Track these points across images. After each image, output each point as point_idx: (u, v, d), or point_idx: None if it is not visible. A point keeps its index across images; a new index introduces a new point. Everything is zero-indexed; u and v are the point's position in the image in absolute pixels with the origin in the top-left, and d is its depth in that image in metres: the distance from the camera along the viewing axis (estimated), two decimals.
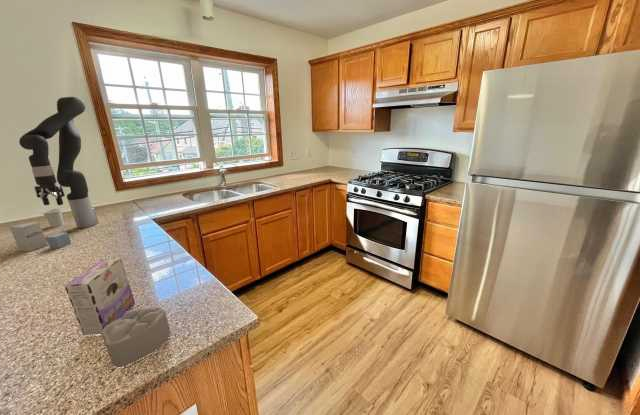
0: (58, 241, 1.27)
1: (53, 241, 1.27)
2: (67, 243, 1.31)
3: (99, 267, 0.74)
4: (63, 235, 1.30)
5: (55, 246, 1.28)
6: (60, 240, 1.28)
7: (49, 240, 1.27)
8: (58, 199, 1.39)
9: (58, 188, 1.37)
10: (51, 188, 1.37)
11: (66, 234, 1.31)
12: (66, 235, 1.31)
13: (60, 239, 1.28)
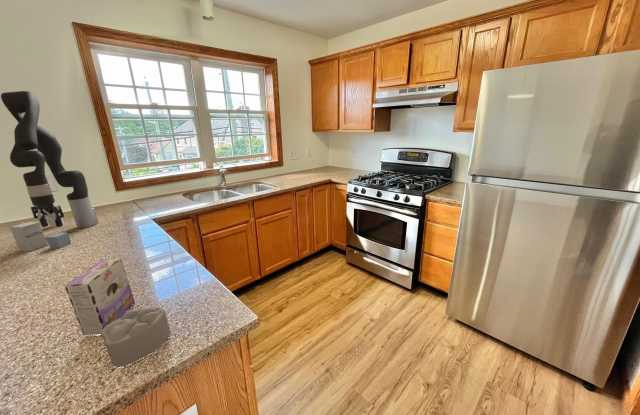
0: (58, 241, 1.27)
1: (53, 241, 1.27)
2: (67, 243, 1.31)
3: (99, 267, 0.74)
4: (63, 235, 1.30)
5: (55, 246, 1.28)
6: (60, 240, 1.28)
7: (49, 240, 1.27)
8: (57, 221, 1.25)
9: (57, 209, 1.23)
10: (49, 209, 1.23)
11: (66, 234, 1.31)
12: (66, 235, 1.31)
13: (60, 239, 1.28)
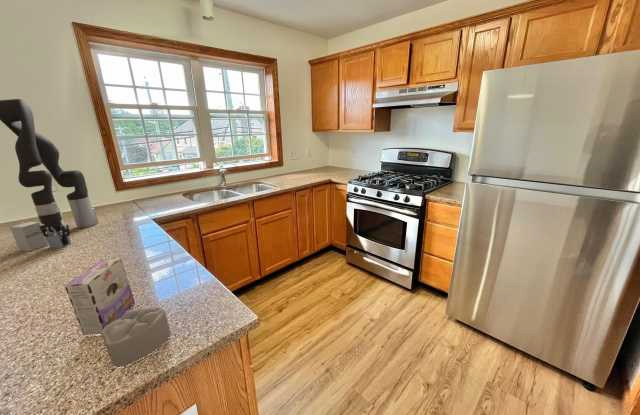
0: (58, 241, 1.27)
1: (53, 241, 1.27)
2: None
3: (99, 267, 0.74)
4: None
5: (55, 246, 1.28)
6: (60, 240, 1.28)
7: (49, 240, 1.27)
8: (63, 239, 1.29)
9: (64, 228, 1.27)
10: (57, 226, 1.26)
11: None
12: None
13: (60, 238, 1.28)
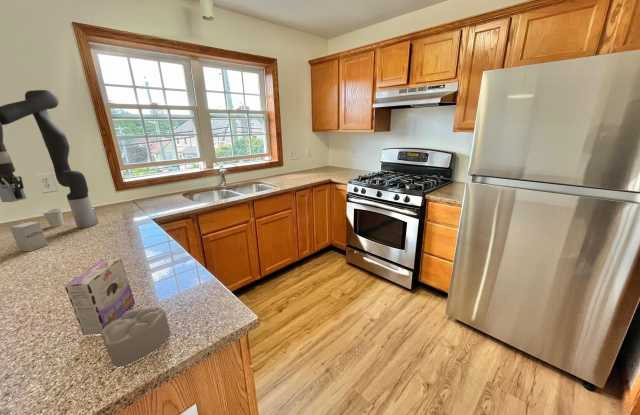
0: (10, 194, 1.19)
1: (4, 194, 1.19)
2: None
3: (99, 267, 0.74)
4: None
5: (7, 199, 1.19)
6: (13, 193, 1.20)
7: (0, 193, 1.19)
8: (16, 192, 1.20)
9: (17, 180, 1.18)
10: (8, 178, 1.18)
11: None
12: None
13: (12, 191, 1.20)
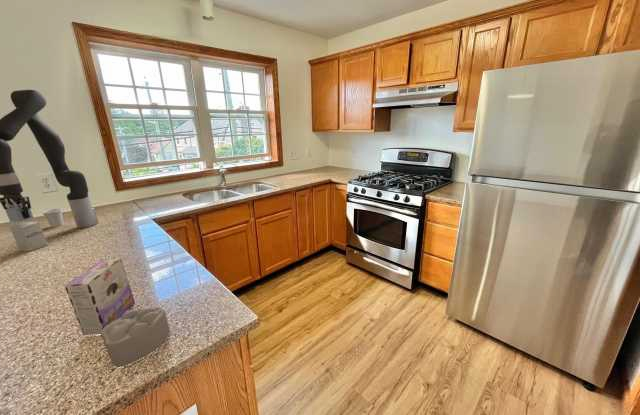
0: (18, 214, 1.22)
1: (12, 214, 1.21)
2: None
3: (99, 267, 0.74)
4: None
5: (15, 219, 1.22)
6: (20, 213, 1.23)
7: (8, 213, 1.22)
8: (24, 212, 1.23)
9: (24, 200, 1.21)
10: (16, 198, 1.21)
11: None
12: None
13: (20, 211, 1.22)
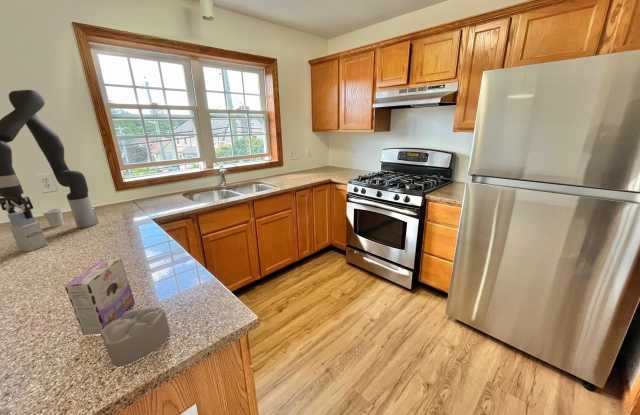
0: (20, 219, 1.22)
1: (14, 218, 1.22)
2: (30, 221, 1.26)
3: (99, 267, 0.74)
4: None
5: (17, 224, 1.23)
6: (23, 217, 1.23)
7: (10, 218, 1.22)
8: (26, 212, 1.23)
9: (25, 200, 1.21)
10: (17, 200, 1.21)
11: None
12: None
13: (22, 216, 1.23)
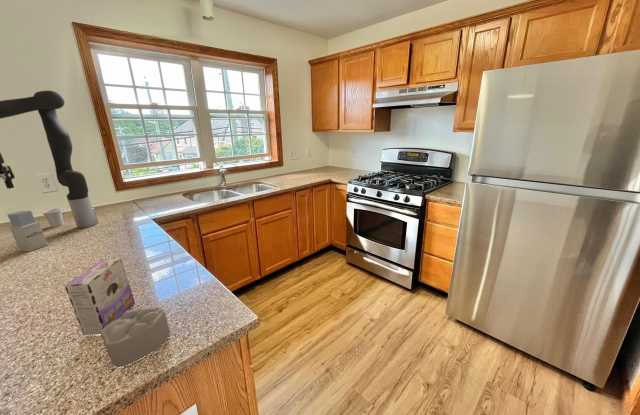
0: (20, 219, 1.22)
1: (14, 219, 1.22)
2: (30, 221, 1.26)
3: (99, 267, 0.74)
4: (26, 213, 1.25)
5: (17, 224, 1.23)
6: (22, 218, 1.23)
7: (10, 218, 1.22)
8: (7, 182, 1.21)
9: (6, 169, 1.19)
10: None
11: (29, 212, 1.26)
12: (29, 213, 1.26)
13: (22, 216, 1.23)
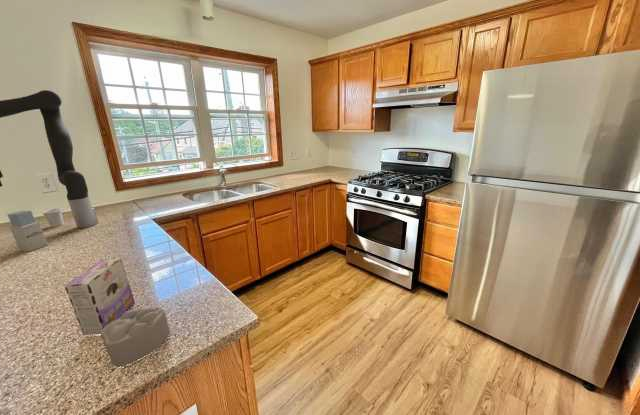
0: (20, 219, 1.22)
1: (14, 219, 1.22)
2: (30, 221, 1.26)
3: (99, 267, 0.74)
4: (26, 213, 1.25)
5: (17, 224, 1.23)
6: (22, 217, 1.23)
7: (10, 218, 1.22)
8: None
9: None
10: None
11: (29, 212, 1.26)
12: (29, 213, 1.26)
13: (22, 216, 1.23)
